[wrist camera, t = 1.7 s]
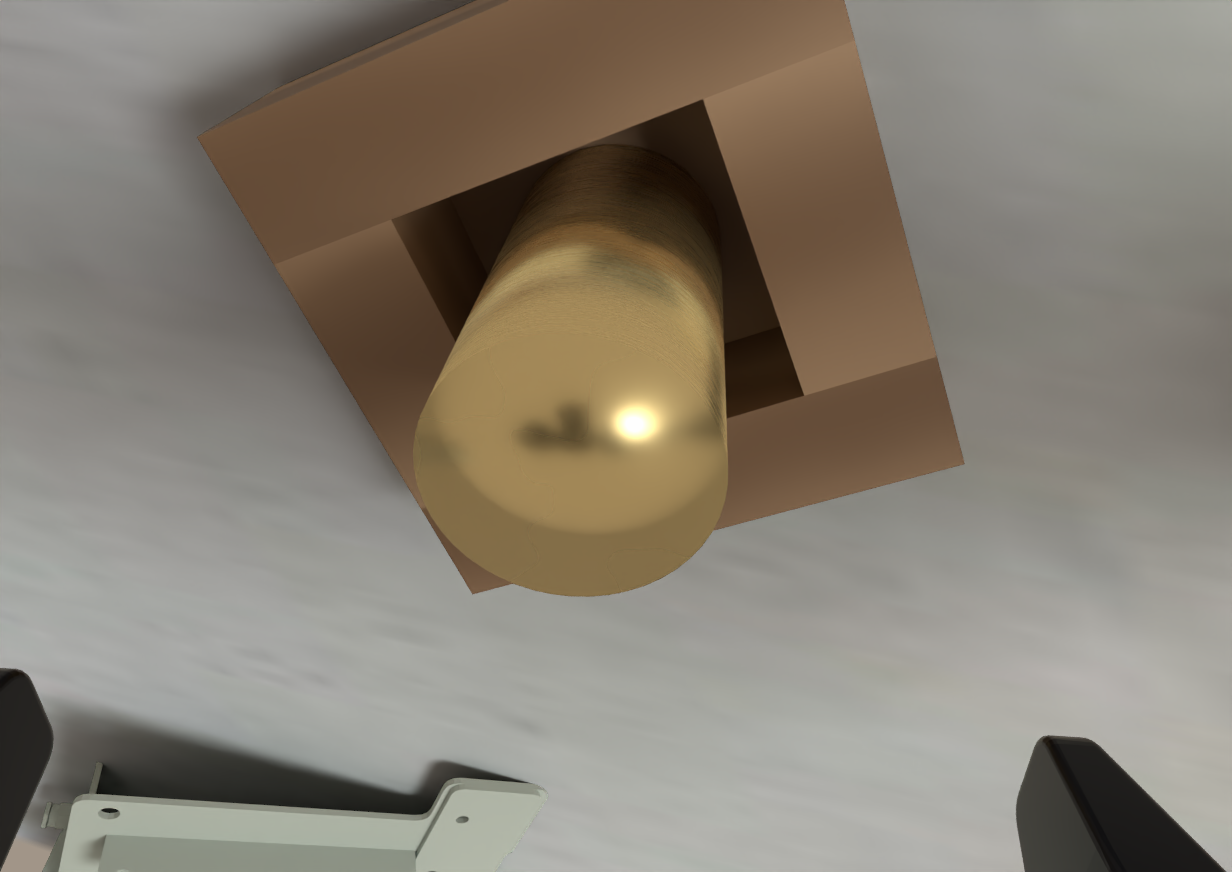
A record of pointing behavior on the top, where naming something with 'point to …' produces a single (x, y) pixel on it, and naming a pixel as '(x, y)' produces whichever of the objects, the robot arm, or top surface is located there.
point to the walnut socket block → (589, 116)
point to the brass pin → (587, 384)
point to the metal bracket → (291, 833)
